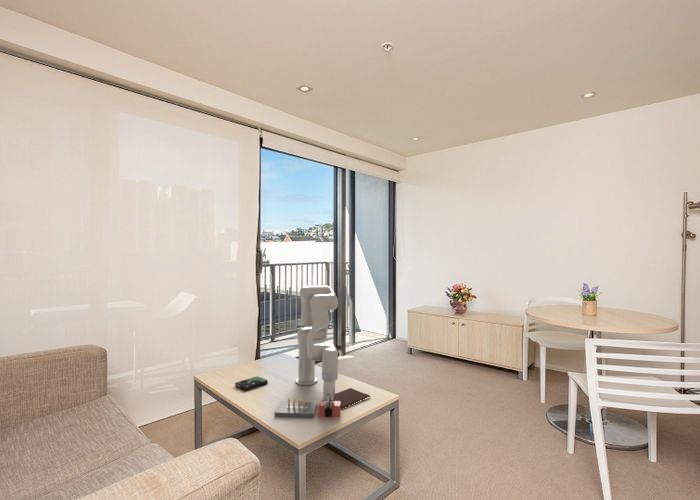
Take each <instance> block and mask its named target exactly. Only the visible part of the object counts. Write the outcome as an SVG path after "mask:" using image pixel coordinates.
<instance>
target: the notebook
mask: <svg viewBox="0 0 700 500" xmlns="http://www.w3.org/2000/svg"><path fill="white" fill-rule="evenodd" d="M367 397H370V398H371V396H370V395H369V394H367V393H364V392H361V391H359V390H356V389H354V388H352V387H349V388H347V389H344V390H341V391H339V392H335V396H334V401H341V408H342V409H343V408H345V407H348V406H349V405H352V404H354V403H356V402H358V401H360V400H363V399H365V398H367ZM352 406H353V405H352ZM348 408H349V407H348ZM342 409H341V410H342ZM345 409H346V408H345ZM343 410H344V409H343Z"/></svg>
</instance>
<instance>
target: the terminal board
mask: <svg viewBox="0 0 700 500" xmlns="http://www.w3.org/2000/svg"><path fill="white" fill-rule="evenodd" d="M317 409H318V402H317V401H316V402H314V401H313V402H310V401H306V398H303V401H301V398H298V399H297V401H296V398H294V397H293V399H292V401H291V398H290V397H289V398H287V401H284V400H283V401H280V403H279V405H278V406H277V408H276V409H275V411H274V417H276V418H296V419H299V418H300V419H302V418H303V419H314V418H315V414H316V412H317Z"/></svg>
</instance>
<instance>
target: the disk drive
mask: <svg viewBox="0 0 700 500" xmlns="http://www.w3.org/2000/svg"><path fill="white" fill-rule="evenodd" d="M268 383H269V382H268V379H265V378H263V377H260V376H259V375H257V376H253V377H251V378H247V379H243V380H239V381H236V382H235V383H234V384H235V387H236V388H237V389H239V390H241V391H243V392H249V391H251V390H254V389H257V388H260V387H263V386H266V385H268Z"/></svg>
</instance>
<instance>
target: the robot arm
mask: <svg viewBox="0 0 700 500" xmlns="http://www.w3.org/2000/svg"><path fill="white" fill-rule="evenodd" d="M299 297H300V300H301V314H300V315H301V317H300V323H301V326H303V327H301V328H300V329H298V331H297V333H296V335H297V336H296V337H297V344H298V374H297V375H298V376H297V378H296V379H295V383H296V384H298V385H300V386H311V385H314V384H316V383H318V378H317V377H316V374H315V369H316V366H315V365H316V362H318V361H321V380H323V385H322V401H323V402H325V401H326V403H325V417H324V418H331V417H332V408H331V405H332V402H333V401H334V396H335V394H336V381H337V380H338V378H339V350H338V349H337V347H336V346H335V344H333V343H326V341H327V338H328V329H329V325H330V322H331V321H330V316H329V311H335V310H336V309H337V308H338V306H339V300H338V297H337V294H336V292H335V291H334V290H333V288H332V287H331V286H329V285H305V286H302V287H300V289H299ZM320 343H321V344H320ZM329 403H330V404H329Z"/></svg>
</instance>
